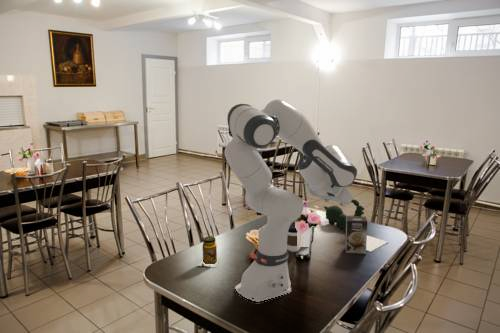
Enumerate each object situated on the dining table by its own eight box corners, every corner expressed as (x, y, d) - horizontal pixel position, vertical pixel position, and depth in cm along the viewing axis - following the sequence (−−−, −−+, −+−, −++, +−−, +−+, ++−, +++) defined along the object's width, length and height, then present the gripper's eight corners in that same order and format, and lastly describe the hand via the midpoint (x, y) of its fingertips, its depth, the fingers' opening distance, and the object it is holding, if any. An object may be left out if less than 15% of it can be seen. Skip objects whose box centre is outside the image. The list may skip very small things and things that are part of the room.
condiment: (216, 268, 158) (215, 241, 156) (196, 267, 159) (195, 241, 156) (219, 260, 165) (218, 235, 163) (200, 259, 166) (199, 234, 163)
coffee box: (346, 253, 171) (346, 220, 167) (345, 247, 177) (345, 215, 174) (366, 254, 170) (367, 221, 166) (364, 247, 176) (365, 216, 172)
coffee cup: (308, 247, 178) (309, 224, 175) (298, 256, 169) (299, 231, 166) (288, 242, 183) (289, 219, 181) (277, 250, 175) (278, 226, 172)
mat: (370, 252, 172) (370, 251, 172) (346, 243, 182) (346, 242, 182) (388, 242, 182) (388, 242, 182) (364, 235, 192) (364, 234, 192)
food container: (317, 245, 180) (317, 225, 178) (304, 244, 181) (305, 225, 179) (313, 235, 193) (314, 217, 190) (301, 235, 193) (302, 217, 191)
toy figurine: (364, 234, 198) (327, 218, 216) (369, 201, 192) (331, 187, 211) (353, 238, 192) (317, 221, 210) (358, 204, 187) (320, 190, 205)
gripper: (298, 185, 155) (313, 203, 163) (339, 196, 140) (352, 214, 148) (306, 173, 157) (319, 191, 165) (346, 182, 142) (359, 201, 150)
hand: (335, 202), depth 157 cm, fingers open, 7 cm apart
